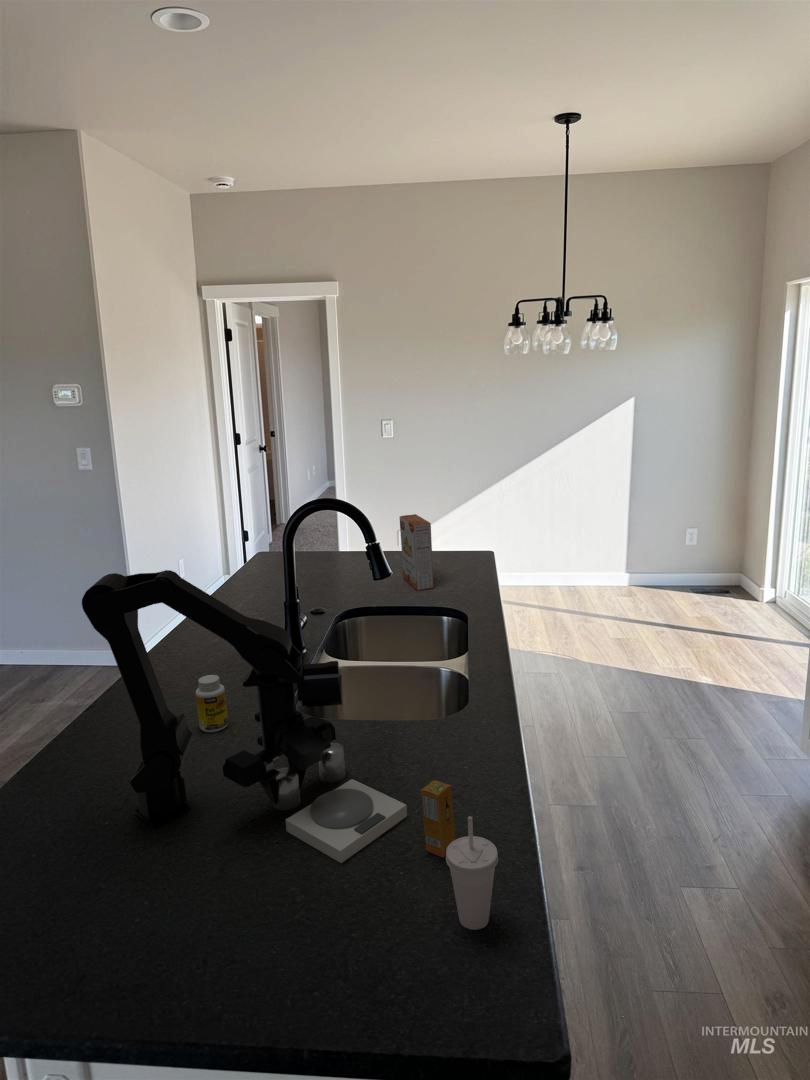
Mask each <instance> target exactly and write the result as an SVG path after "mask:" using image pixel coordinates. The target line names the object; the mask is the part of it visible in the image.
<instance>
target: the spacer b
mask: <svg viewBox="0 0 810 1080" xmlns="http://www.w3.org/2000/svg"><path fill="white" fill-rule="evenodd" d="M330 744H331V747H330V748H328V749H326V750H324V752H323V757H322V760H321V761H319V762H317V763H318V772H319V773H318V775H319V779H320V781H321V782H324V783H331V784H333V783H337V782H340V781H343V779H344V778H345V777H346V767H345V766H346V765H345V755H344V754H345V753H344V752H345V751H344V746H343V745H342V744H341V743H338V742H331V743H330Z"/></svg>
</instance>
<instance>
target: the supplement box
mask: <svg viewBox="0 0 810 1080" xmlns="http://www.w3.org/2000/svg"><path fill="white" fill-rule="evenodd" d="M420 792H421V793H420V794H421V806H422V816H423V817H422V818H423V828H424V829H423V831H424V839H425V849H426V850H425V851H426V852H428V853H431V854H433V855H435V856H437V857H439V858H442V859H444V858H446V850H447V847H448V846H449V844H450V843H452V842H453V841H454V840H456V839H457V838H456V829H455V828H456V827H455V826H456V825H455V816H454V815H455V814H454V800H453V788H452V785H451V784H447V783H444V782H441V781H439V780H435V779H434V780H432V781H431V782H429V783H428V784H427V785H425V786H424V787H423V788H422V789H420Z"/></svg>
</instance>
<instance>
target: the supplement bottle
mask: <svg viewBox="0 0 810 1080" xmlns="http://www.w3.org/2000/svg"><path fill="white" fill-rule="evenodd" d="M220 680H221V679H220V677H219V676H218V675H217V674H209V675H204V676H202V677H199V678H198V680H197V681H198V687H197V689H196V690H195V701H196V707H197V716H198V723H199V724H198V725H199V729H200V730H201V731H203V732H205V733H215V732H219V731H221V730H224V729H225V728H226V727H227V726H228V725H229V717H228V706H227V697H226V689H225V686H224V685H223V684H221V681H220Z"/></svg>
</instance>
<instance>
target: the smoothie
mask: <svg viewBox="0 0 810 1080" xmlns="http://www.w3.org/2000/svg"><path fill="white" fill-rule="evenodd" d="M473 824H474V823H473V816H470V815H469V816H468V817H467V829H468V831H467V832H468V836H462V837H459V838H455V839H456V840H454V841H453V842H452V843H450V844H449V846H448V847H447V850H446V856H445V861H446V864H447V866H448V867H449V870H450V875H451V881H452V887H453V892H454V897H455V903H456V908H457V913H458V919H459V923H460V924H461V925H462V927H464V928H465V929H468V930H471V931H473V930H474V931H475V930H476V931H477V930H481V929H483V928H485V927H486V926H487V925H488V924H489V922H490V921H489V920H490V915H491V914H490V912H491V903H492V895H493V888H494V887H493V886H494V876H495V868H496V866H497V865H498V863H499V855H498V849H497V847H496V845H495V844H494V843H493V842H492V841H491V840H488V839H487V838H484V837H482V836H475V835H474V829H473V827H474V825H473Z"/></svg>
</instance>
